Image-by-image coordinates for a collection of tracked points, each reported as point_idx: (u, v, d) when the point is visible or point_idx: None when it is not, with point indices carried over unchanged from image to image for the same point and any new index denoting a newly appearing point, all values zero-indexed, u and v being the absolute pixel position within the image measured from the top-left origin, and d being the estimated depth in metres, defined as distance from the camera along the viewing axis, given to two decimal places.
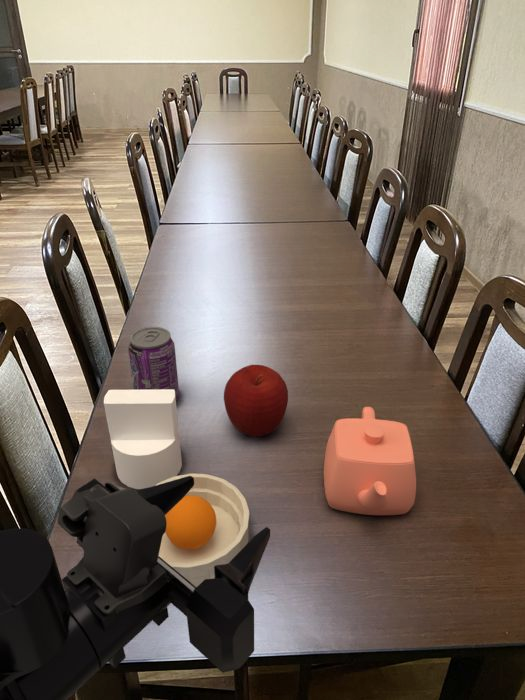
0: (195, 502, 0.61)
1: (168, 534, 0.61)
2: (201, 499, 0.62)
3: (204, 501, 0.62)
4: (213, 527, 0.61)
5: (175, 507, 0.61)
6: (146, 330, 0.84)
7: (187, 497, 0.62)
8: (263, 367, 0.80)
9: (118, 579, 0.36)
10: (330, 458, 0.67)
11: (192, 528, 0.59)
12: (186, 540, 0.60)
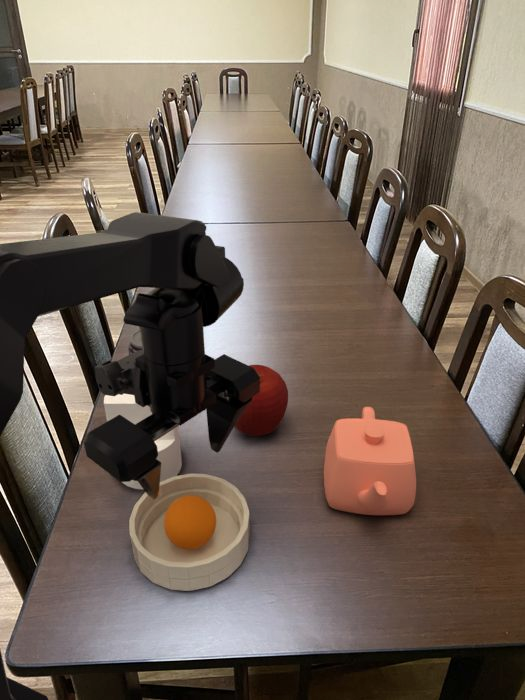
0: (195, 502, 0.61)
1: (168, 534, 0.61)
2: (201, 499, 0.62)
3: (204, 501, 0.62)
4: (213, 527, 0.61)
5: (175, 507, 0.61)
6: None
7: (187, 497, 0.62)
8: (263, 367, 0.80)
9: None
10: (330, 458, 0.67)
11: (192, 528, 0.59)
12: (186, 540, 0.60)
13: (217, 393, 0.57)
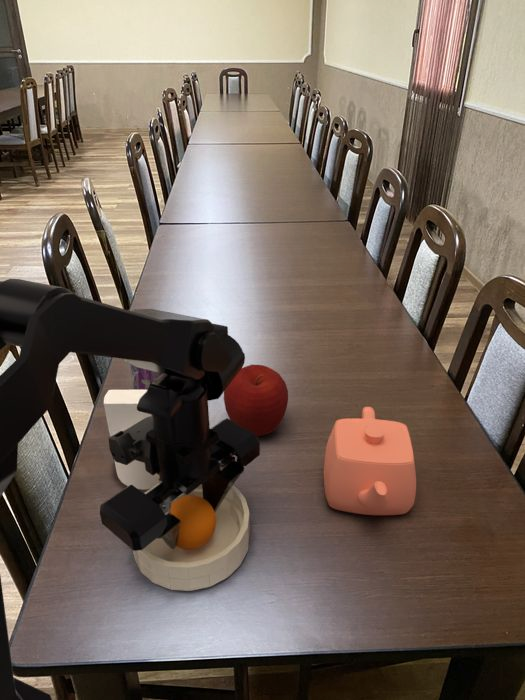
0: (195, 502, 0.61)
1: None
2: (201, 499, 0.62)
3: (204, 501, 0.62)
4: (212, 527, 0.61)
5: (175, 507, 0.61)
6: None
7: (187, 497, 0.62)
8: (263, 367, 0.80)
9: None
10: (330, 458, 0.67)
11: (192, 528, 0.59)
12: (186, 540, 0.60)
13: None
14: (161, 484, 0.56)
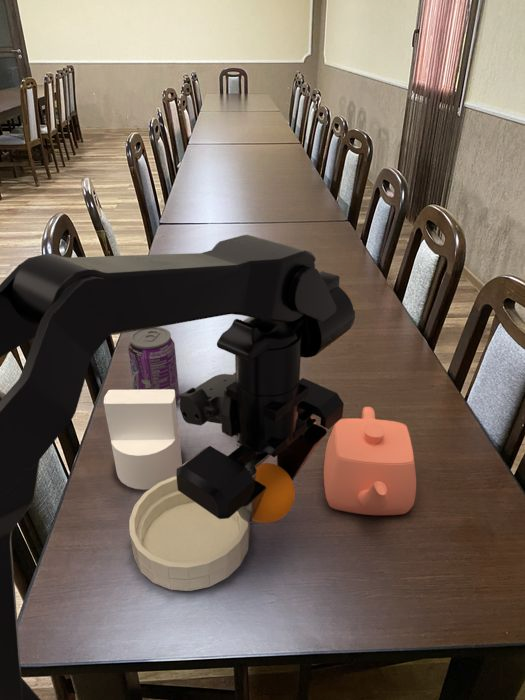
0: (273, 469, 0.54)
1: None
2: (278, 467, 0.55)
3: (281, 469, 0.55)
4: (292, 497, 0.54)
5: None
6: (146, 330, 0.84)
7: (262, 464, 0.55)
8: None
9: None
10: (330, 458, 0.67)
11: (272, 498, 0.52)
12: (265, 511, 0.53)
13: None
14: (242, 446, 0.49)
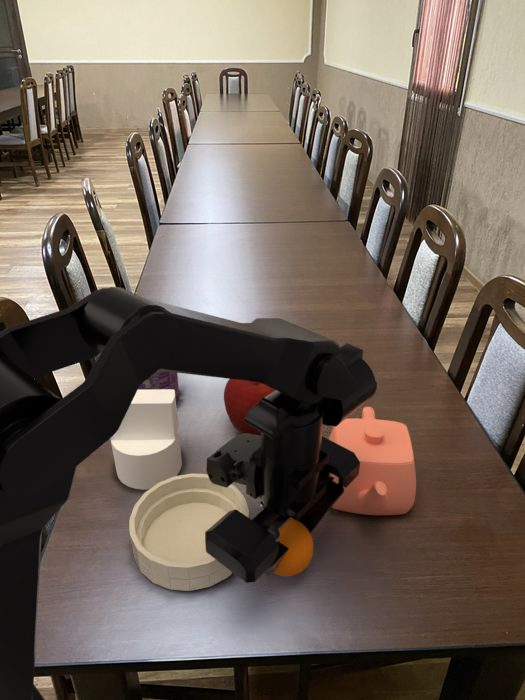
0: (293, 526, 0.57)
1: None
2: (298, 522, 0.58)
3: (301, 524, 0.58)
4: (311, 552, 0.57)
5: None
6: None
7: None
8: None
9: None
10: None
11: (293, 554, 0.56)
12: (286, 567, 0.56)
13: None
14: (266, 509, 0.52)
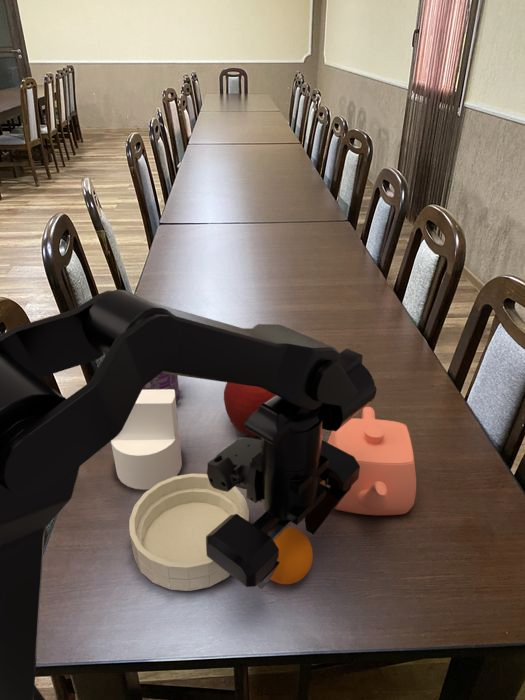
0: (293, 534, 0.58)
1: None
2: (297, 531, 0.59)
3: (300, 533, 0.59)
4: (311, 560, 0.58)
5: None
6: None
7: None
8: None
9: None
10: None
11: (292, 563, 0.56)
12: (286, 575, 0.56)
13: (319, 482, 0.58)
14: (266, 513, 0.53)
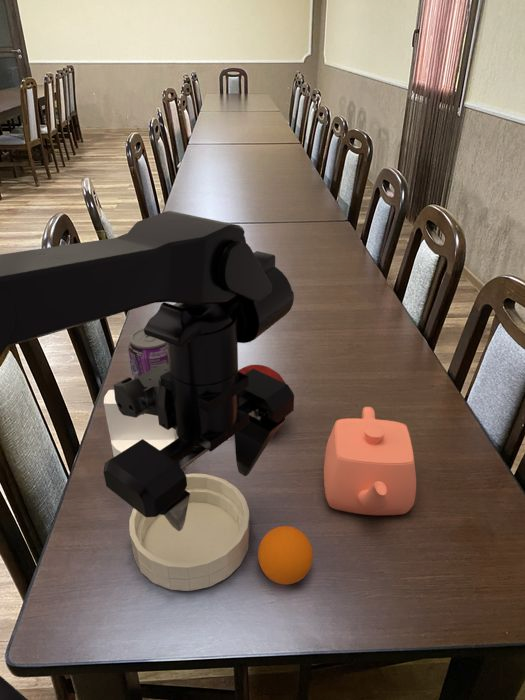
0: (293, 534, 0.58)
1: (265, 569, 0.57)
2: (297, 531, 0.59)
3: (300, 533, 0.59)
4: (311, 560, 0.58)
5: (272, 540, 0.58)
6: None
7: (282, 529, 0.59)
8: (263, 367, 0.80)
9: None
10: (330, 458, 0.67)
11: (292, 563, 0.56)
12: (286, 575, 0.56)
13: (247, 412, 0.52)
14: (178, 439, 0.46)
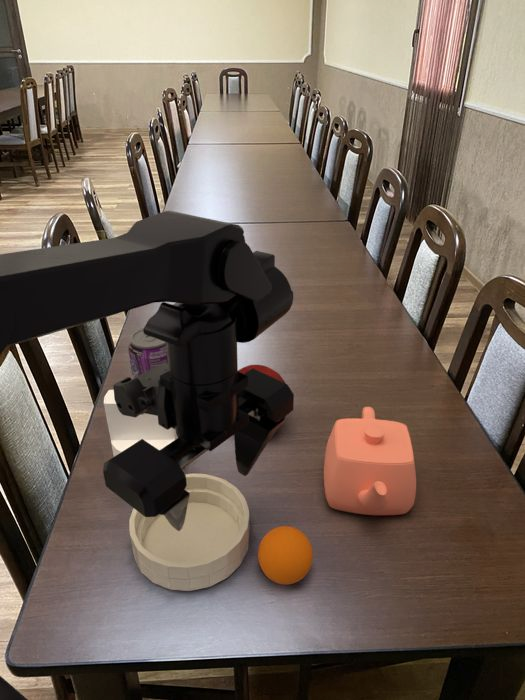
0: (293, 534, 0.58)
1: (265, 569, 0.57)
2: (297, 531, 0.59)
3: (300, 533, 0.59)
4: (311, 560, 0.58)
5: (272, 540, 0.58)
6: None
7: (282, 529, 0.59)
8: (263, 367, 0.80)
9: None
10: (330, 458, 0.67)
11: (292, 563, 0.56)
12: (286, 575, 0.56)
13: (247, 412, 0.52)
14: (178, 439, 0.46)
